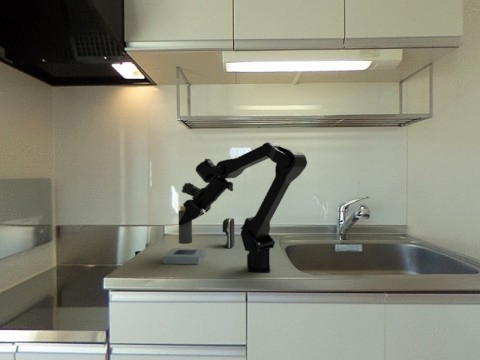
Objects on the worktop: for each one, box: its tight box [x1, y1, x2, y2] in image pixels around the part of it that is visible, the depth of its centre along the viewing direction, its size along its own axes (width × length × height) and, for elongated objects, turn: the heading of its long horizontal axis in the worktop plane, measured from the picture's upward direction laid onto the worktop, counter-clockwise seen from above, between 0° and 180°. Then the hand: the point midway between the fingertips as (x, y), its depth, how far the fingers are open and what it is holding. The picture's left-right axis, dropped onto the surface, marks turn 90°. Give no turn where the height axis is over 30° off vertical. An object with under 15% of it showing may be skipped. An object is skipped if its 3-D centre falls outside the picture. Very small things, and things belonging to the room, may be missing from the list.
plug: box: [177, 205, 193, 245], centre depth 118 cm, size 4×4×12 cm
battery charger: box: [222, 217, 235, 249], centre depth 139 cm, size 7×4×11 cm, turn 170°
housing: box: [162, 247, 207, 266], centre depth 118 cm, size 12×12×2 cm
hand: (181, 223), depth 118 cm, fingers closed on plug, 4 cm apart
